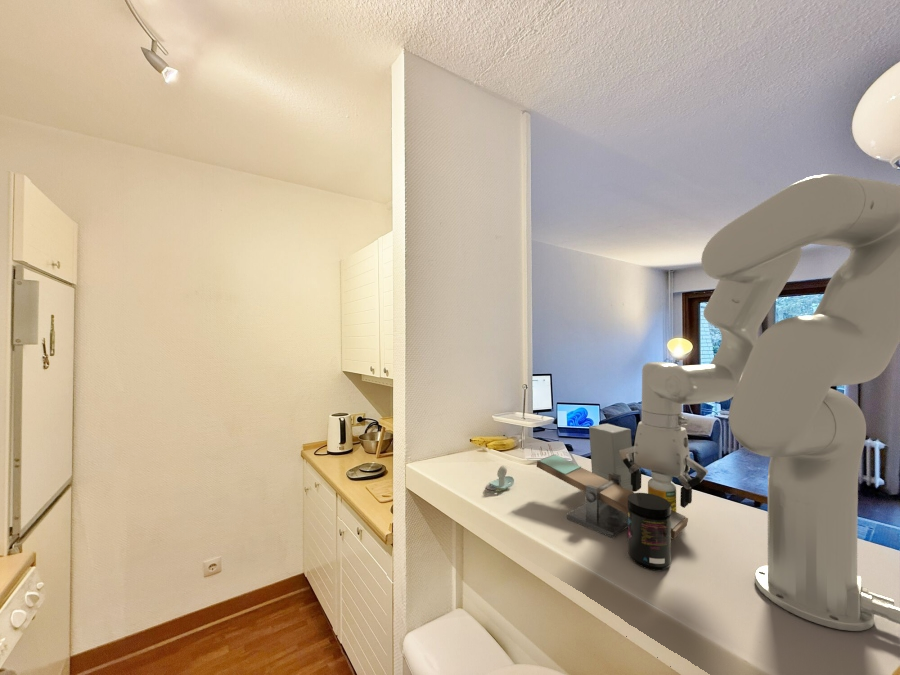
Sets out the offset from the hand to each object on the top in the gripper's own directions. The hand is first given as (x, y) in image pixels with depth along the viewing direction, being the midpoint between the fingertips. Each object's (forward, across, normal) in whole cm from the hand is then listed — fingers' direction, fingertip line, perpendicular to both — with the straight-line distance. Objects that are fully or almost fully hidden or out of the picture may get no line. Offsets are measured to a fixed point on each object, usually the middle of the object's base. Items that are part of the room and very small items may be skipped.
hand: (659, 497), depth 81 cm
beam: (-1, +8, +10) cm, 13 cm away
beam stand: (+4, +7, +10) cm, 13 cm away
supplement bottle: (+4, -1, 0) cm, 4 cm away
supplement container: (+4, -5, +19) cm, 20 cm away
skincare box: (+4, +13, -6) cm, 15 cm away
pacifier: (+5, +33, +15) cm, 37 cm away
